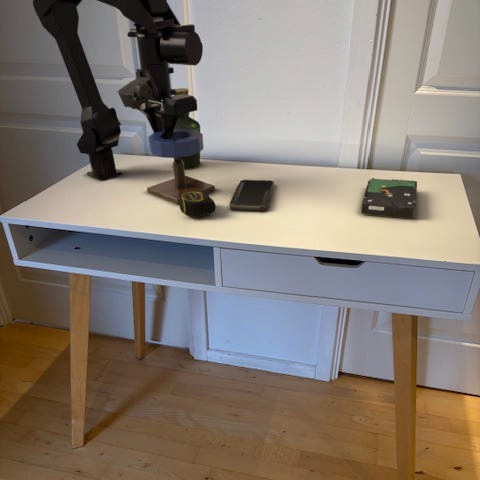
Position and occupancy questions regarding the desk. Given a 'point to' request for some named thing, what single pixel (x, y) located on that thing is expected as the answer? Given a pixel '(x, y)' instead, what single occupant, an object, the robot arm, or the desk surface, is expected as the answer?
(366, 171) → the desk surface
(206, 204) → the tape measure
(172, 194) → the post
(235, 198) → the phone
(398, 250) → the desk surface
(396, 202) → the disk drive
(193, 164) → the potion bottle
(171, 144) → the ring
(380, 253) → the desk surface
